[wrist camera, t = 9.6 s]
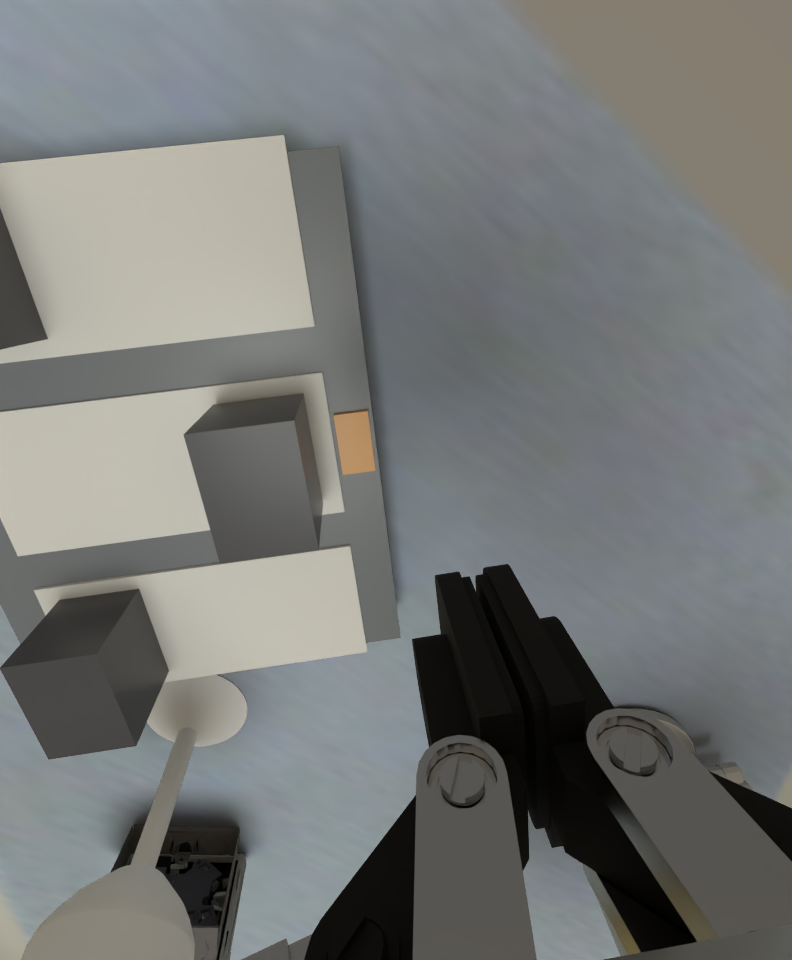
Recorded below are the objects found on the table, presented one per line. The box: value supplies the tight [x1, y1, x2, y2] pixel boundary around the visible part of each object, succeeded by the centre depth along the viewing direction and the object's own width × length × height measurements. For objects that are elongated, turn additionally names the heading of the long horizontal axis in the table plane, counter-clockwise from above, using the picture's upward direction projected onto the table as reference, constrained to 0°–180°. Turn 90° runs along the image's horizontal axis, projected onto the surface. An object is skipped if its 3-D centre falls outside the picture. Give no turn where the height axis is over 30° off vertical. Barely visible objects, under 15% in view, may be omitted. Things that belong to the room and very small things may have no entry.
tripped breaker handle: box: [184, 393, 323, 564], centre depth 21 cm, size 4×6×4 cm
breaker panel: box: [0, 135, 401, 759], centre depth 23 cm, size 20×25×8 cm
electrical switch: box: [111, 825, 246, 960], centre depth 34 cm, size 9×5×9 cm, turn 79°
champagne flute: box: [21, 675, 248, 960], centre depth 22 cm, size 7×7×24 cm
